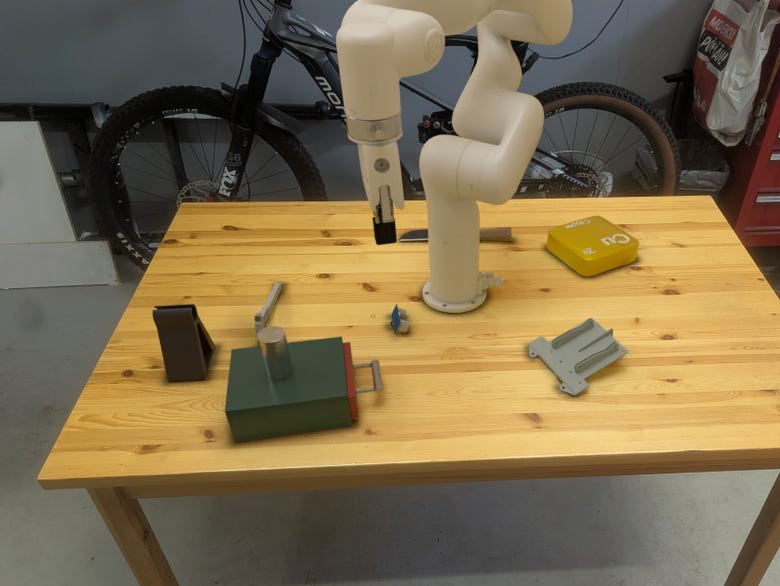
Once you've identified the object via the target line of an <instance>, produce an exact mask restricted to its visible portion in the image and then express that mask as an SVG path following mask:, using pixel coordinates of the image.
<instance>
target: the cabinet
mask: <svg viewBox="0 0 780 586" xmlns="http://www.w3.org/2000/svg"><path fill="white" fill-rule="evenodd" d="M287 343H288V348H289V352H290V357H291V361H292V366H293V374H292V375H291V376H290V377H289V378H287V379H285V380H281V381H274V380H271V379H269V378H268V376H267V373H266V369H265V365H264V362H263V358H262V354H261V350H260V346H259V345H257V346H247V347H239V348H231V350H230V358H229V359H230V360H229V367H228V368H229V369H228V377H227V378H228V379H227V387H226V398H225V405H224V413H225V417H226V420H227V423H228V426H229V429H230V432H231V435H232V438H233V442H234V443H242V442H249V441H255V440H261V439H270V438H277V437H285V436H292V435H299V434H305V433H306V434H307V433H313V432H319V431H326V430H327V431H328V430H335V429H341V428H349V427H353V419H351V414H350V407H349V401H348V392H347V382H346V371H345V360H344V350H343V343H344V340H343V336H342V335H341V336H333V337H325V338H317V339H308V340H299V341H290V342H287Z"/></svg>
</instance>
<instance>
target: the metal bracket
mask: <svg viewBox="0 0 780 586" xmlns="http://www.w3.org/2000/svg"><path fill="white" fill-rule="evenodd" d="M528 353H529V357H530V358H532V359H533V358H536V357H539V358H540V359H541V360H542V361H543V362H544V364H545V365H546V366H547V367H548V368H549V369H550V370H551V372H553V373H554V375H555V376H556V377H558V378H559V380H560V381H561V382H562V384H560V385H559V386H558V389H559V390H560V391H561V392H564V393H567V394H568V395H572V396H578V395H579V394H581V393H582V392H584V391H587V390H588V389H589V388H590V384H589V383H588V382H587V381H586V379H587V378H589V377H591V376H592V375H594V374H595V373H597V372H599V371H600V370H602V369H604V368H606V367H607V366H609V365H610V364H613V363H614V362H616V361H618V360H619V359H621V358H622V357H624V356H626V355H627V354H629V350H628V349H627V348H626V347H625V346H624V345H622V344H621V342H619V340H617V339H616V338H615V337H614V328H612V327H611V328H610V329H607V330H606V329H605V328H604V327H603V326H602V325H601V324H600V323H599V322H598V321H597V320H595V318H593V317H589V318H587V319H586V320H584V321H582V322H581V323H579V324H577V325H575V326H574V327H572V328H569V329H568V330H566V331H565V332H562V333H561V334H559V335H558V336H556V337H554V338H552V339H551V340H548V339H546V338H545V337H544V336H543V335H541V336H540V335H539V336H538V337H536V338H535V339H533V340H532V341H531V340H530V342H529V343H528Z"/></svg>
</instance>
